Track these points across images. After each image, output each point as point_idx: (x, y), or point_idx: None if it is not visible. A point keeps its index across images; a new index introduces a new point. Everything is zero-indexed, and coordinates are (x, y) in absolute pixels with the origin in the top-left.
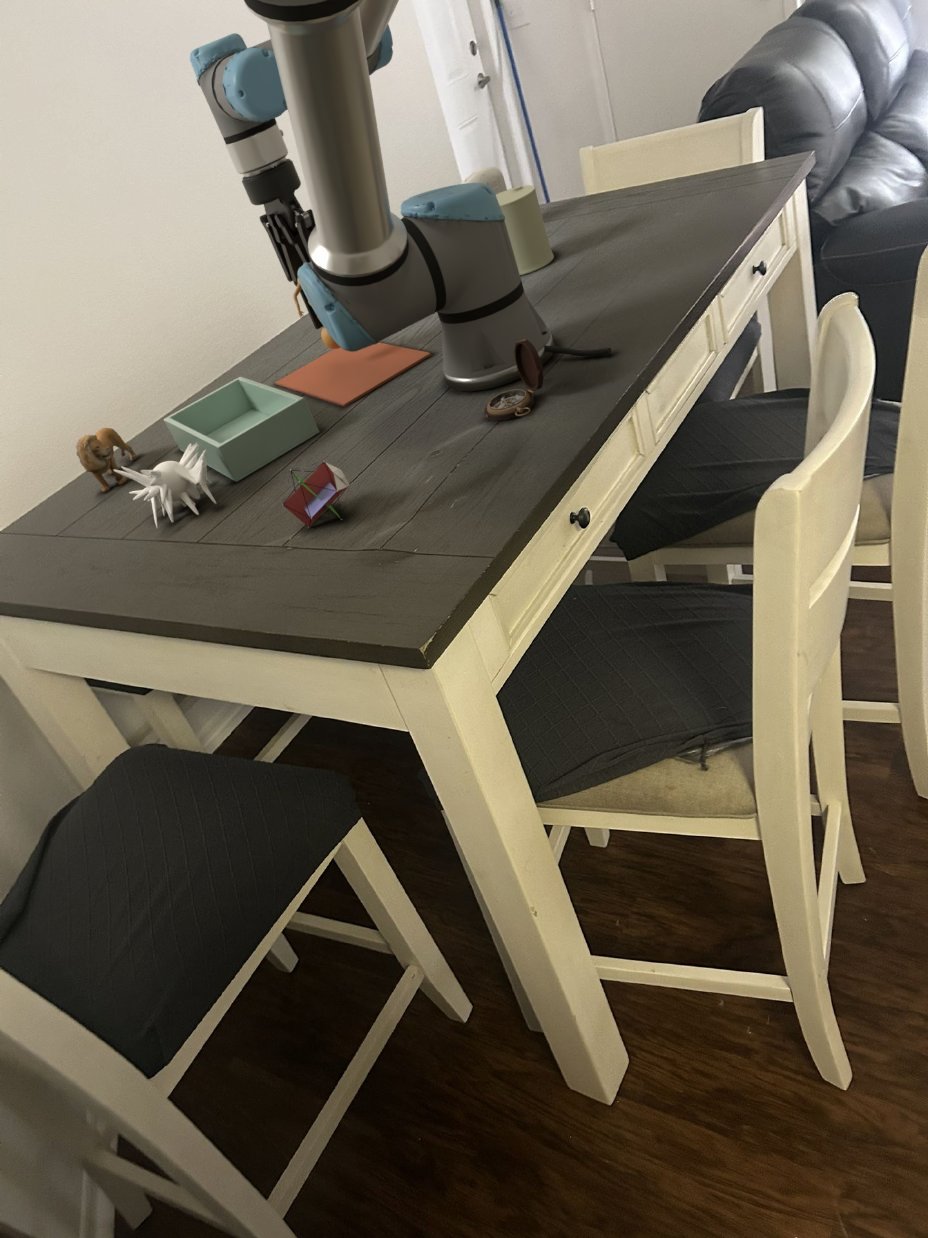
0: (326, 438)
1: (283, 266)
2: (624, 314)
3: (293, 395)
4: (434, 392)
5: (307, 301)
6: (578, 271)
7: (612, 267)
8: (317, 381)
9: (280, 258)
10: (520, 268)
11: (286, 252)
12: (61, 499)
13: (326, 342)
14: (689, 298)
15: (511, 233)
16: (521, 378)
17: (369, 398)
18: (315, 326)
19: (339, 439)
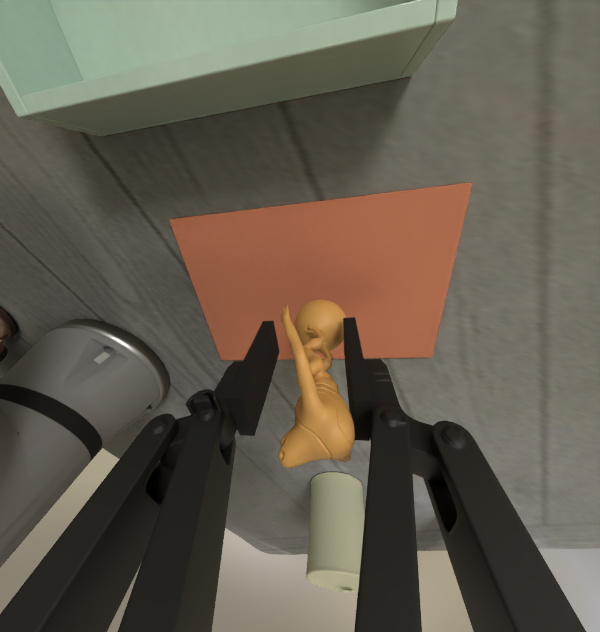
0: (63, 133)
1: (486, 504)
2: (128, 436)
3: (55, 101)
4: (103, 306)
5: (348, 366)
6: (259, 476)
7: (233, 479)
8: (332, 239)
9: (509, 574)
10: (319, 480)
11: (370, 629)
12: None
13: (312, 302)
14: (114, 452)
15: (317, 525)
16: (3, 349)
17: (166, 256)
18: (349, 320)
19: (42, 149)
